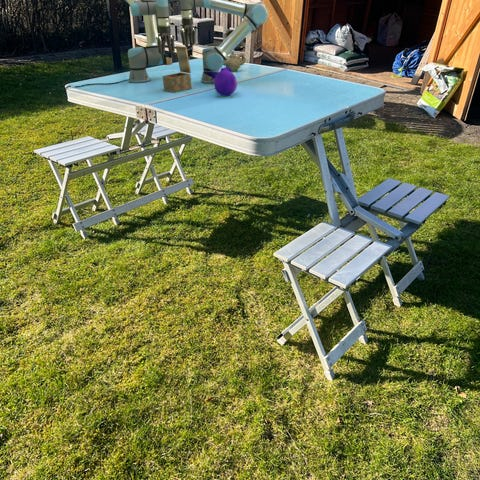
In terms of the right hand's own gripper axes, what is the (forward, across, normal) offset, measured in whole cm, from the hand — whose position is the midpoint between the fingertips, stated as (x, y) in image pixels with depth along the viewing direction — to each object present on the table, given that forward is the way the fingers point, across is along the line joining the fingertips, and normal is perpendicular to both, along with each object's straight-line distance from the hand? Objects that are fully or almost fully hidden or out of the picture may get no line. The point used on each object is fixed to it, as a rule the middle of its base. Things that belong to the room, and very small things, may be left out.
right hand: (189, 55), depth 308 cm
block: (+4, -18, +2) cm, 18 cm away
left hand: (+3, -18, +2) cm, 18 cm away
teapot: (+21, +62, +19) cm, 68 cm away
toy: (+21, -2, -34) cm, 39 cm away
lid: (+2, -7, 0) cm, 7 cm away
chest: (+20, -13, 0) cm, 24 cm away
